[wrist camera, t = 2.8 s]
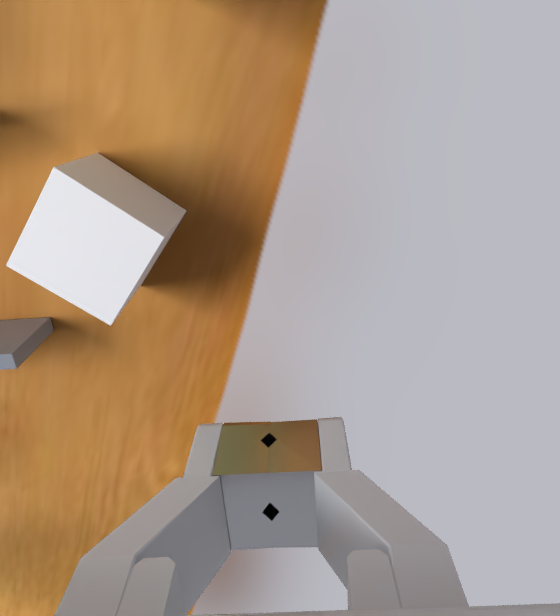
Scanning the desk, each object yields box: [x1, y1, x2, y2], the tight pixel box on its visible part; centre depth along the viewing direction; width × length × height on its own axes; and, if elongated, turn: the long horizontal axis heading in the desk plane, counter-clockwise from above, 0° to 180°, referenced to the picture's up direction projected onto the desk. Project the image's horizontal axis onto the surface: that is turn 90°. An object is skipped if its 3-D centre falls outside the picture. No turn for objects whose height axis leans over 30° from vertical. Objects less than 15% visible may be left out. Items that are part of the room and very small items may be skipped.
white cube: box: [6, 153, 186, 325], centre depth 28 cm, size 6×6×6 cm
